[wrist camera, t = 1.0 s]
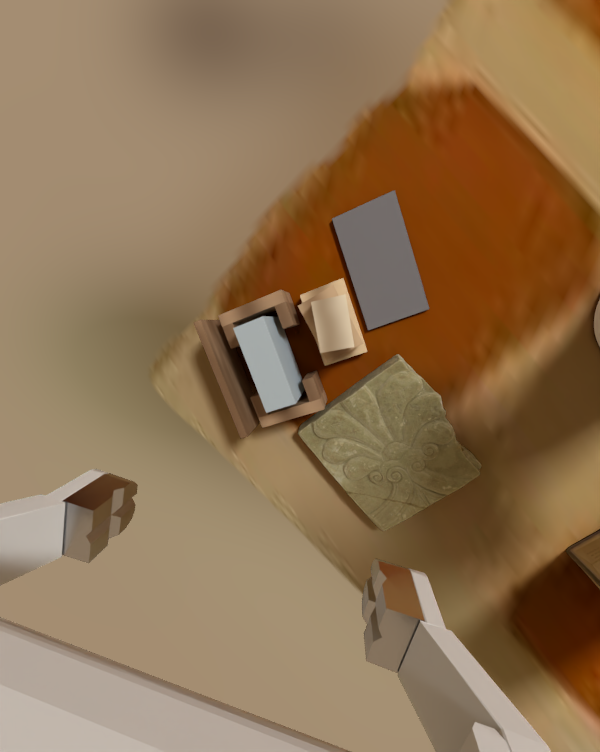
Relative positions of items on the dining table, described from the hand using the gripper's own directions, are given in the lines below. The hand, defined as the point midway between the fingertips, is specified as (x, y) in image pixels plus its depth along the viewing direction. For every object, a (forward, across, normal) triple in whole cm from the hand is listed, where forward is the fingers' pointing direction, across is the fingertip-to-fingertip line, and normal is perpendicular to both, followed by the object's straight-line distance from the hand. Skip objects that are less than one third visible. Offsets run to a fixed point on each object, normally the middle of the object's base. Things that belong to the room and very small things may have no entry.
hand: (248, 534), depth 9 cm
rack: (+32, +7, 0) cm, 33 cm away
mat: (+32, -4, -16) cm, 36 cm away
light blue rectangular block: (+32, +6, -1) cm, 33 cm away
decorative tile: (+33, -12, +8) cm, 36 cm away
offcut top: (+28, 0, -7) cm, 29 cm away
